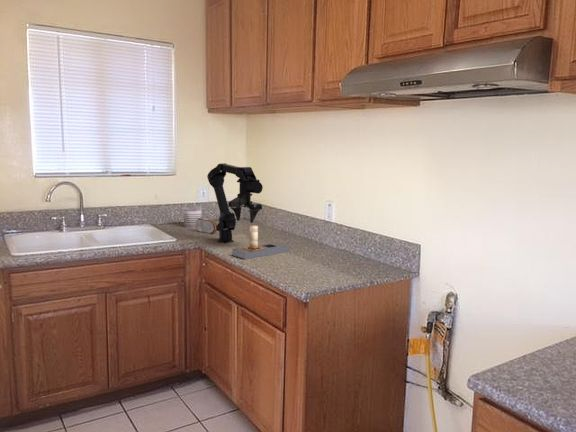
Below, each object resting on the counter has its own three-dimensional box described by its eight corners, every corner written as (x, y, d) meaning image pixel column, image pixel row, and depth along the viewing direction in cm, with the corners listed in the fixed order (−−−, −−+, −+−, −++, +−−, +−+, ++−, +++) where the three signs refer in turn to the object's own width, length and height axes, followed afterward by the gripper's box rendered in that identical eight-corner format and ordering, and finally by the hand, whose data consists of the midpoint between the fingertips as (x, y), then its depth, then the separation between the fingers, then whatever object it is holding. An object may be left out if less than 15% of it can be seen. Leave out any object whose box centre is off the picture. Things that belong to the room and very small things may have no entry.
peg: (247, 254, 236) (248, 225, 234) (254, 253, 238) (255, 225, 236) (252, 256, 233) (252, 227, 230) (259, 255, 235) (259, 226, 233)
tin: (217, 233, 284) (217, 219, 283) (214, 234, 282) (214, 220, 280) (198, 230, 292) (198, 217, 291) (194, 231, 290) (194, 217, 288)
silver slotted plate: (244, 259, 226) (245, 252, 225) (232, 255, 233) (232, 248, 233) (289, 251, 244) (289, 244, 244) (276, 247, 252) (276, 241, 251)
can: (203, 224, 312) (202, 206, 310) (200, 228, 301) (200, 209, 299) (185, 224, 311) (184, 206, 309) (182, 228, 300) (181, 208, 298)
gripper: (220, 191, 247) (220, 221, 250) (247, 194, 236) (247, 226, 238) (236, 189, 256) (235, 219, 258) (262, 192, 244) (262, 223, 247)
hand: (244, 222), depth 250 cm, fingers open, 9 cm apart
